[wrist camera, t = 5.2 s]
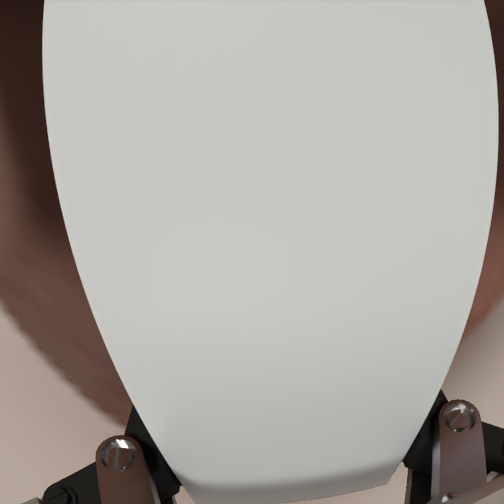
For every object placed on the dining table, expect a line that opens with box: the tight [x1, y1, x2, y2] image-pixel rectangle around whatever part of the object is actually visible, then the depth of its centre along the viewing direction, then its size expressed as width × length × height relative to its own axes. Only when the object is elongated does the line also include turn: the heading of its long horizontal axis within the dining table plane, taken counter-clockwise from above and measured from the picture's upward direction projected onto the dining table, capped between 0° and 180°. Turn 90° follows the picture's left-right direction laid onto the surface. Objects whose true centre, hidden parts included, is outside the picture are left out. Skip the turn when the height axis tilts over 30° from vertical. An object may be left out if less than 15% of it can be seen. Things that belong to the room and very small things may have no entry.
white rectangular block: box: [42, 0, 498, 504], centre depth 6 cm, size 6×16×5 cm, turn 5°
